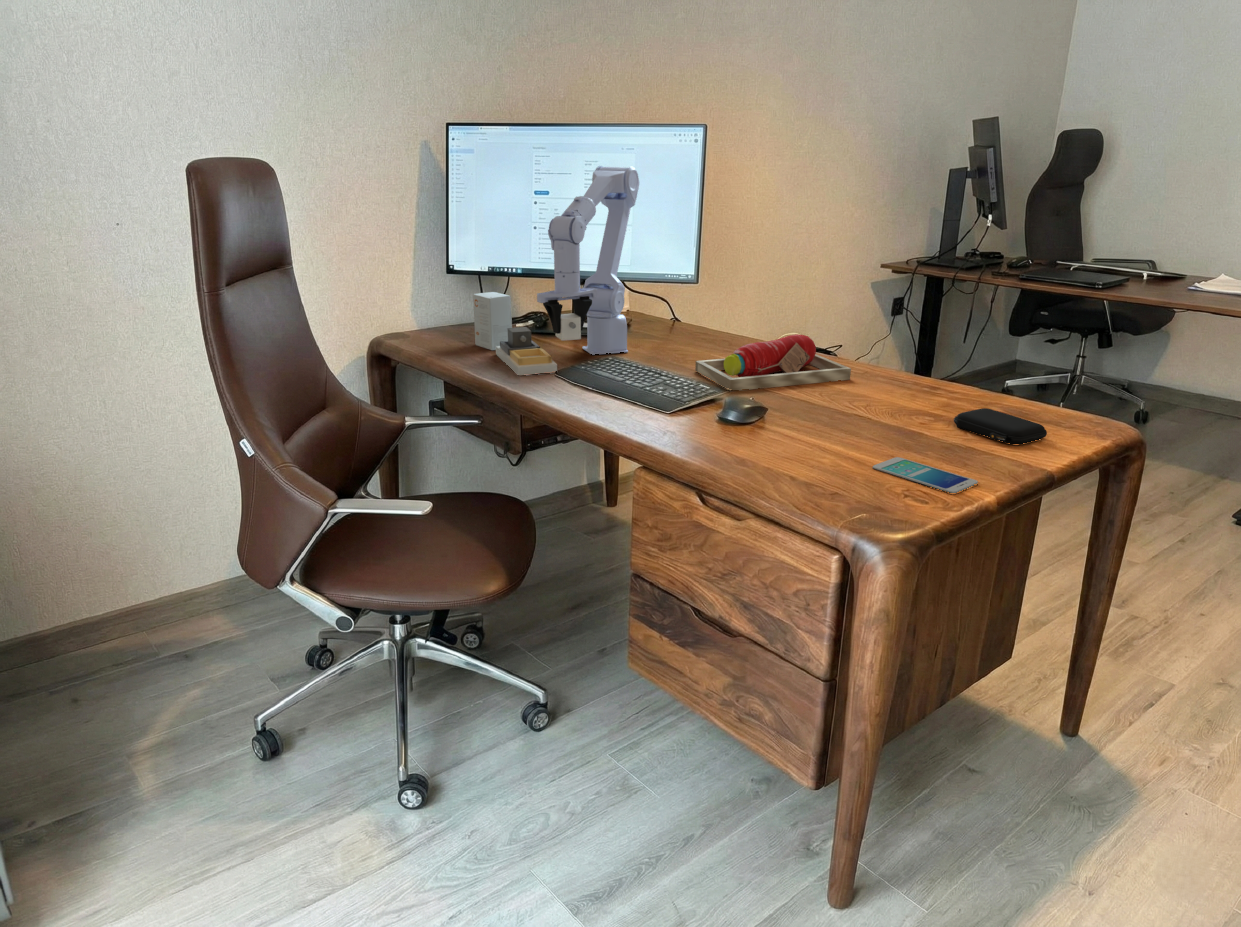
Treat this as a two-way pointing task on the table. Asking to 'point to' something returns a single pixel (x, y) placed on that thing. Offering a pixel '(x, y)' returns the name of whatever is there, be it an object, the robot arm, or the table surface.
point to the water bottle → (771, 356)
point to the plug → (570, 327)
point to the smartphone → (925, 475)
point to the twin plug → (519, 337)
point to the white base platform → (526, 359)
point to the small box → (491, 319)
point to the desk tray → (775, 375)
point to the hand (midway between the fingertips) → (568, 331)
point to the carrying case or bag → (1000, 426)
